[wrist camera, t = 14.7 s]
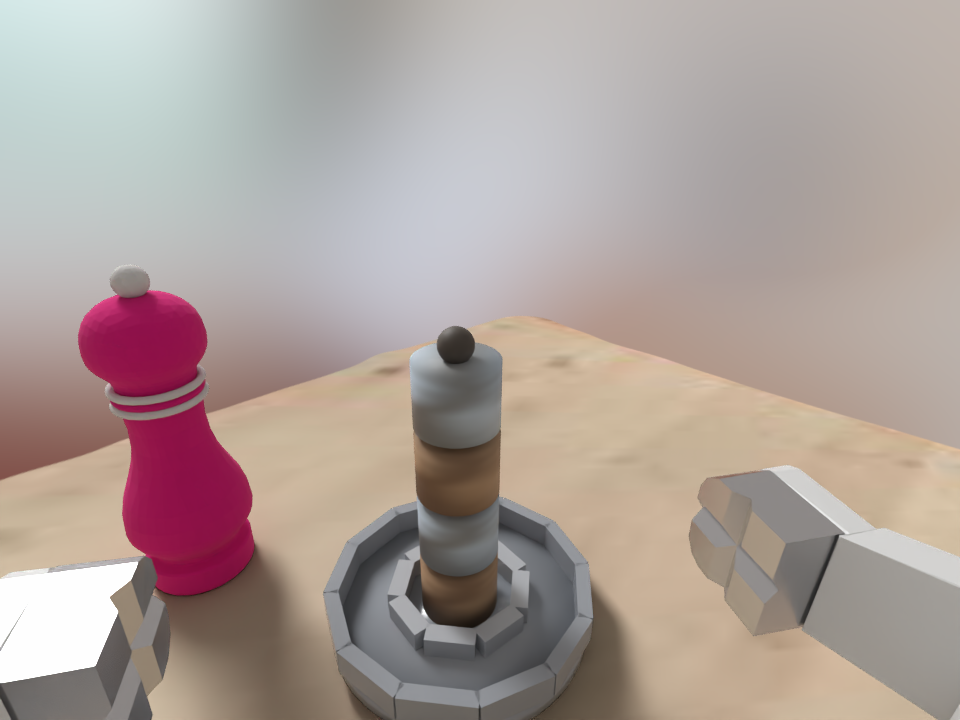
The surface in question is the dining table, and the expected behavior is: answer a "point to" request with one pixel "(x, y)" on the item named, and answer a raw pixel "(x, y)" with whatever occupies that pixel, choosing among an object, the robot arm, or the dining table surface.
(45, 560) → the dining table surface
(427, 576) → the bead column
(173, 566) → the pepper mill
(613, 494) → the dining table surface
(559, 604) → the tray
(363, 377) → the dining table surface
